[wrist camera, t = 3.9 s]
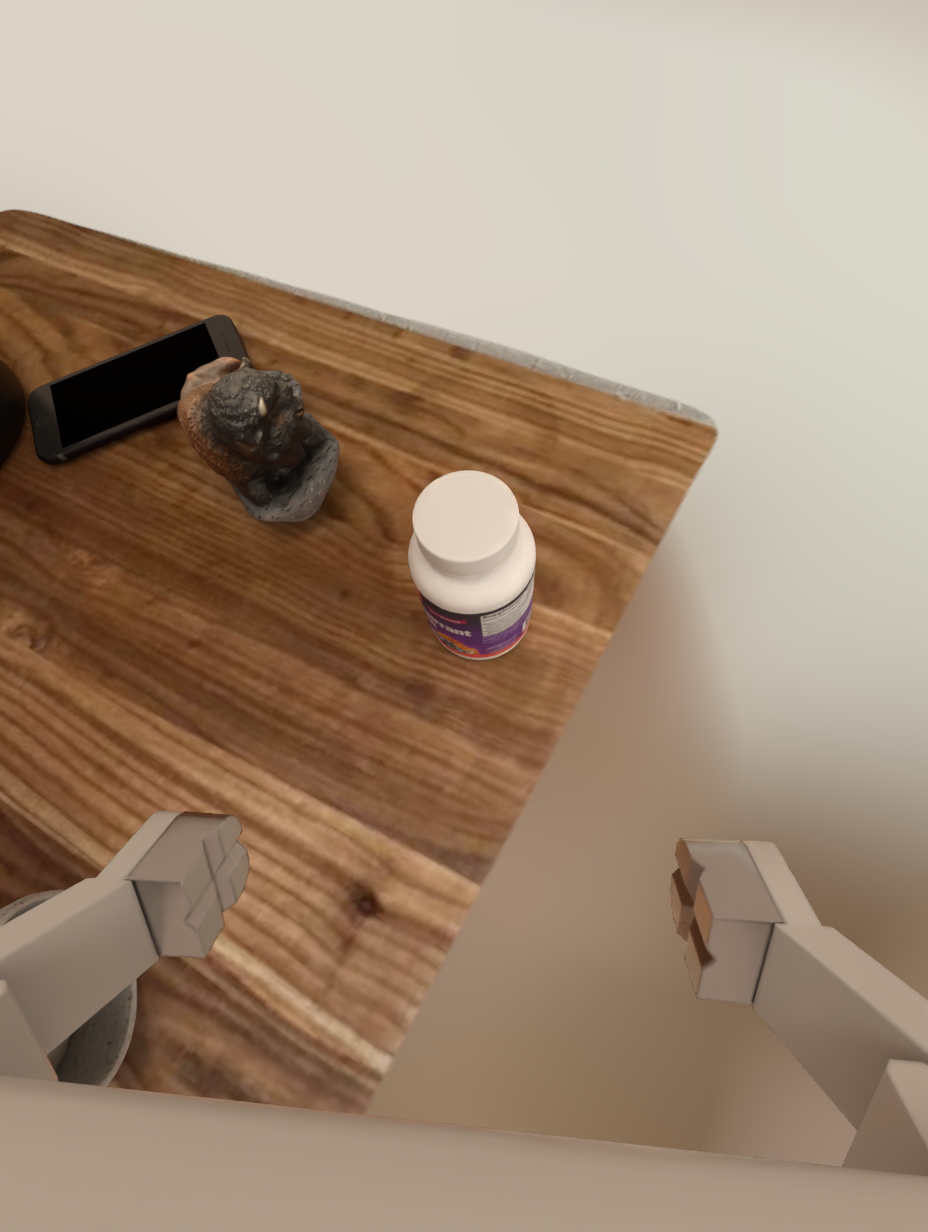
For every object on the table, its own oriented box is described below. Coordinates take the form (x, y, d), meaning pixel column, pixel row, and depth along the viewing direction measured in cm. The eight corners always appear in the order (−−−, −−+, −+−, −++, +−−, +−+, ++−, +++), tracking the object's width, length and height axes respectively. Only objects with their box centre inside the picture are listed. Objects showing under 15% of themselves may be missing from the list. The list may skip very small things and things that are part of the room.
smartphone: (31, 398, 38) (20, 388, 37) (231, 317, 39) (225, 306, 39) (46, 474, 35) (35, 465, 34) (261, 384, 37) (255, 373, 36)
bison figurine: (196, 438, 35) (84, 294, 26) (289, 384, 37) (212, 229, 27) (281, 564, 31) (182, 447, 22) (382, 499, 32) (330, 362, 23)
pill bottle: (410, 609, 29) (364, 506, 20) (487, 552, 30) (476, 430, 21) (472, 684, 27) (451, 607, 18) (552, 621, 28) (569, 519, 19)
